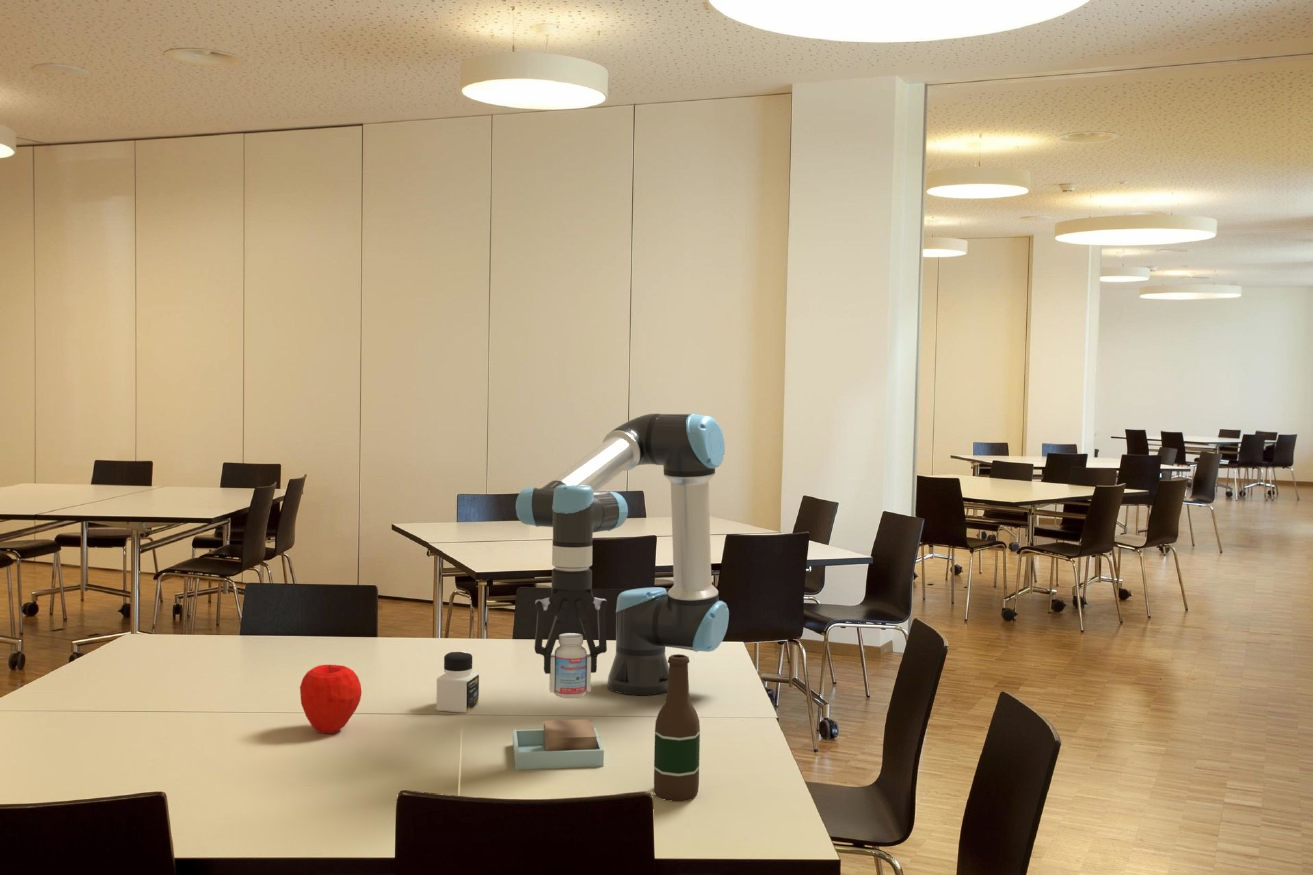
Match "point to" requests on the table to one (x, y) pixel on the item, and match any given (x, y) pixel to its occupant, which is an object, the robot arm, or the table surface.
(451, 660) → the medicine bottle
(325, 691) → the apple
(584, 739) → the walnut block
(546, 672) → the robot arm
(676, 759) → the beer bottle
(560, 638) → the pill bottle
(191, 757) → the table surface
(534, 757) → the light blue tray
